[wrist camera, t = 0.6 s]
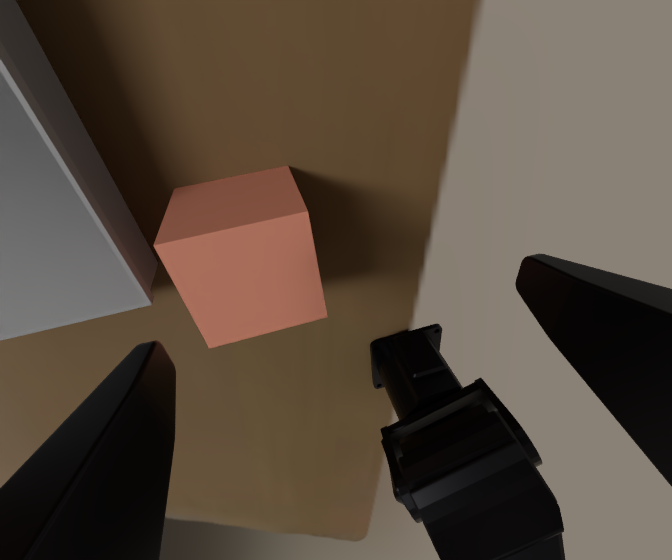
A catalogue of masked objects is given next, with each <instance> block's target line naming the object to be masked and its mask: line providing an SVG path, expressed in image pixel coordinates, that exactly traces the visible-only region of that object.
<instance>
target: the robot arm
mask: <svg viewBox="0 0 672 560" xmlns="http://www.w3.org/2000/svg"><path fill="white" fill-rule="evenodd" d="M516 289H517V291H518V293H519V294H520V295H521V297H522V299H523V300H524V302H525V303H526V305H527V306H528V308H529V309H530V311H531V312H532V314H533V315H534V317H535V318H536V319H537V321H538V322H539V324H540V326H541V327H542V328H543V330H544V331H545V333H546V334H547V335H548V337H549V338H550V340H551V341H552V342H553V343H554V345H555V346H556V347H557V348H558V350H559V351H560V352H561V353H562V354H563V356H564V357H565V358H566V359H567V360H568V362H569V363H570V364H571V365H572V366H573V368H574V369H575V370H576V371H577V373H578V374H579V375H580V376H581V377H582V379H583V380H584V381H585V382H586V383H587V385H588V386H589V387H590V388H591V390H592V391H593V392H594V393H595V394H596V396H597V397H598V398H599V399H600V400H601V402H602V403H603V404H604V405H605V406H606V408H607V409H608V410H609V411H610V412H611V414H612V415H613V416H614V417H615V419H616V420H617V421H618V422H619V423H620V425H621V426H622V427H623V428H624V429H625V430H626V432H627V433H628V434H629V436H630V437H631V438H632V439H633V440H634V442H635V443H636V444H637V445H638V446H639V448H640V449H641V450H642V451H643V452H644V454H645V455H646V456H647V457H648V459H649V460H650V461H651V462H652V463H653V465H654V466H655V467H656V468H657V469H658V471H659V472H660V473H661V474H662V475H663V477H664V478H665V479H666V480H667V481H668V483H669V484H670V485H671V486H672V289H670V288H666V287H662V286H659V285H655V284H652V283H647V282H644V281H641V280H637V279H633V278H629V277H625V276H622V275H618V274H615V273H611V272H607V271H603V270H600V269H596V268H593V267H589V266H585V265H582V264H578V263H574V262H571V261H567V260H563V259H559V258H555V257H552V256H549V255H545V254H536V255H531V256H527V257H525V258H524V259H523V260H522V263H521V266H520V269H519V273H518V276H517V279H516ZM441 333H442V328H441V326H440V325H439V324H433V325H430V326H426V327H422V328H419V329H415V330H412V331H408V332H405V333H401V334H398V335H394V336H390V337H387V338H383V339H380V340H376V341H374V342H372V343H371V344H370V352H371V365H372V379H373V385H374V387H375V388H376V389H379V388H382V387H385V389H386V391H387V393H388V396H389V398H390V400H391V403H392V405H393V407H394V409H395V412H396V414H397V416H398V418H399V421H398V422H396V423H394V424H392V425H390V426H388V427H387V426H385V427H383V428H381V433H382V437H383V439H382V441H381V443H382V445H383V448H384V451H385V454H386V457H387V460H388V464H389V468H390V474H391V481H392V487H393V493H394V496H395V498H396V500H397V501H398V502H400V503H402V504H403V505H405V507H406V508H407V510H408V511H409V513H410V514H411V516H412V517H413V519H414V520H415V521H416V522H417V523H420V522H422V521H423V524H424V526H425V528H426V530H427V532H428V534H429V536H430V538H431V541H432V543H433V545H434V547H435V549H436V551H437V553H438V555H439V558H440V559H441V560H565V554H564V547H563V540H562V532H564V528H563V522H562V517H561V513H560V508H559V506H558V504H557V500H556V498H555V496H554V495H553V493H552V492H551V490H550V488H549V487H548V485H547V484H546V482H545V481H544V479H543V478H542V476H541V475H540V473H539V471H538V470H537V468H536V467H537V466H539V465H541V464H542V460H541V458H540V456H539V454H538V452H537V450H536V448H535V447H534V445H533V443H532V442H531V440H530V439H529V437H528V436H527V434H526V433H525V431H524V430H523V428H522V427H521V426H520V424H519V423H518V422H517V421H516V419H515V418H514V417H513V415H512V414H511V413H510V412H509V411H508V409H507V408H506V407H505V406H504V405H503V403H502V402H501V401H500V400H499V399H498V398H497V396H496V395H495V394H494V393H493V391H492V390H491V389H490V388H489V387H488V385H487V384H486V383H485V382H484V381H483V379H482V378H479V379H477V380H475V382H474V383H472V384H470V385H468V386H466V387H464V388H463V387H462V386H461V384H460V383H459V381H458V379H457V378H456V376H455V375H454V374H453V372H452V370H451V369H450V367H449V366H448V364H447V363H446V361H445V360H444V358H443V357H442V355H441V354H440V352H439V350H440V342H441ZM175 407H176V370H175V366H174V364H173V362H172V360H171V359H170V357H169V355H168V353H167V352H166V350H165V348H164V347H163V345H162V344H161V343H160V342H159V341H151V342H147V343H142V344H139V345H137V346H136V347H135V348H134V349H133V350H132V351H131V352H130V353H129V354H128V355H127V356H126V357H125V358H124V359H123V360H122V361H121V362H120V363H119V365H118V366H117V367H116V368H115V369H114V370H113V371H112V372H111V373H110V374H109V375H108V376H107V377H106V378H105V379H104V380H103V381H102V382H101V383H100V384H99V385H98V387H97V388H96V389H95V390H94V391H93V392H92V393H91V394H90V395H89V396H88V397H87V398H86V399H85V400H84V401H83V402H82V403H81V404H80V405H79V406H78V407H77V409H76V410H75V411H74V412H73V413H72V414H71V415H70V416H69V417H68V418H67V419H66V420H65V421H64V422H63V423H62V424H61V425H60V426H59V427H58V428H57V429H56V430H55V432H54V433H53V434H52V435H51V436H50V437H49V438H48V439H47V440H46V441H45V442H44V443H43V444H42V445H41V446H40V447H39V448H38V449H37V450H36V451H35V452H34V454H33V455H32V456H31V457H30V458H29V459H28V460H27V461H26V462H25V463H24V464H23V465H22V466H21V467H20V468H19V469H18V470H17V471H16V472H15V473H14V474H13V476H12V477H11V478H10V479H9V480H8V481H7V482H6V483H5V484H4V485H3V486H2V487H1V488H0V560H159V557H160V550H161V542H162V534H163V527H164V519H165V512H166V504H167V497H168V489H169V481H170V474H171V466H172V459H173V451H174V442H175Z"/></svg>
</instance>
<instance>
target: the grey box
mask: <svg viewBox="0 0 672 560" xmlns="http://www.w3.org/2000/svg"><path fill="white" fill-rule="evenodd" d="M158 264H159V263H158V262H157V260H156V258H155V256H154V254H153V252H152V251H151V249H150V247H149V245H148V243H147V241H146V239H145V238H144V236H143V234H142V232H141V230H140V228H139V227H138V225H137V223H136V221H135V219H134V217H133V216H132V214H131V212H130V210H129V208H128V206H127V204H126V203H125V201H124V199H123V197H122V195H121V193H120V192H119V190H118V188H117V186H116V184H115V182H114V180H113V179H112V177H111V175H110V173H109V171H108V169H107V168H106V166H105V164H104V162H103V160H102V158H101V157H100V155H99V153H98V151H97V149H96V147H95V145H94V144H93V142H92V140H91V138H90V136H89V134H88V133H87V131H86V129H85V127H84V125H83V123H82V121H81V120H80V118H79V116H78V114H77V112H76V110H75V109H74V107H73V105H72V103H71V101H70V99H69V98H68V96H67V94H66V92H65V90H64V88H63V86H62V85H61V83H60V81H59V79H58V77H57V75H56V74H55V72H54V70H53V68H52V66H51V64H50V62H49V61H48V59H47V57H46V55H45V53H44V51H43V50H42V48H41V46H40V44H39V42H38V40H37V39H36V37H35V35H34V33H33V31H32V29H31V27H30V26H29V24H28V22H27V20H26V18H25V16H24V15H23V13H22V11H21V9H20V7H19V5H18V3H17V2H16V0H0V341H1V340H5V339H9V338H13V337H18V336H22V335H26V334H30V333H35V332H39V331H43V330H47V329H51V328H56V327H60V326H64V325H68V324H73V323H77V322H81V321H85V320H90V319H94V318H98V317H102V316H106V315H111V314H115V313H119V312H123V311H128V310H132V309H136V308H140V307H145V306H149V305H152V303H153V300H154V296H153V294H152V293H151V291H150V289H151V286H152V283H153V279H154V276H155V273H156V270H157V267H158Z"/></svg>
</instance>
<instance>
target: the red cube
mask: <svg viewBox="0 0 672 560" xmlns="http://www.w3.org/2000/svg"><path fill="white" fill-rule="evenodd" d="M153 246H154V248H155V249H156V251H157V253H158V255H159V257H160V259H161V260H162V262H163V264H164V266H165V268H166V270H167V271H168V273H169V275H170V277H171V279H172V281H173V282H174V284H175V286H176V288H177V290H178V292H179V293H180V295H181V297H182V299H183V301H184V303H185V304H186V306H187V308H188V310H189V312H190V314H191V315H192V317H193V319H194V321H195V323H196V325H197V326H198V328H199V330H200V332H201V334H202V335H203V337H204V339H205V341H206V343H207V345H208V346H209V348H213V347H217V346H221V345H224V344H228V343H232V342H236V341H239V340H243V339H247V338H251V337H254V336H258V335H262V334H266V333H269V332H273V331H277V330H281V329H284V328H288V327H292V326H296V325H299V324H303V323H307V322H311V321H314V320H318V319H322V318H326V317H327V312H326V307H325V301H324V296H323V290H322V285H321V279H320V274H319V268H318V263H317V258H316V252H315V247H314V241H313V236H312V230H311V225H310V220H309V214H308V210H307V208H306V206H305V203H304V201H303V199H302V197H301V194H300V192H299V190H298V187H297V185H296V183H295V181H294V178H293V176H292V174H291V172H290V169H289V167H288V166H284V167H279V168H274V169H269V170H264V171H259V172H254V173H249V174H244V175H239V176H234V177H229V178H224V179H219V180H214V181H209V182H204V183H199V184H194V185H189V186H185V187H180V188H175V189H174V191H173V194H172V196H171V199H170V202H169V205H168V207H167V210H166V213H165V215H164V218H163V221H162V224H161V226H160V229H159V232H158V234H157V237H156V240H155V243H154V245H153Z"/></svg>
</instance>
